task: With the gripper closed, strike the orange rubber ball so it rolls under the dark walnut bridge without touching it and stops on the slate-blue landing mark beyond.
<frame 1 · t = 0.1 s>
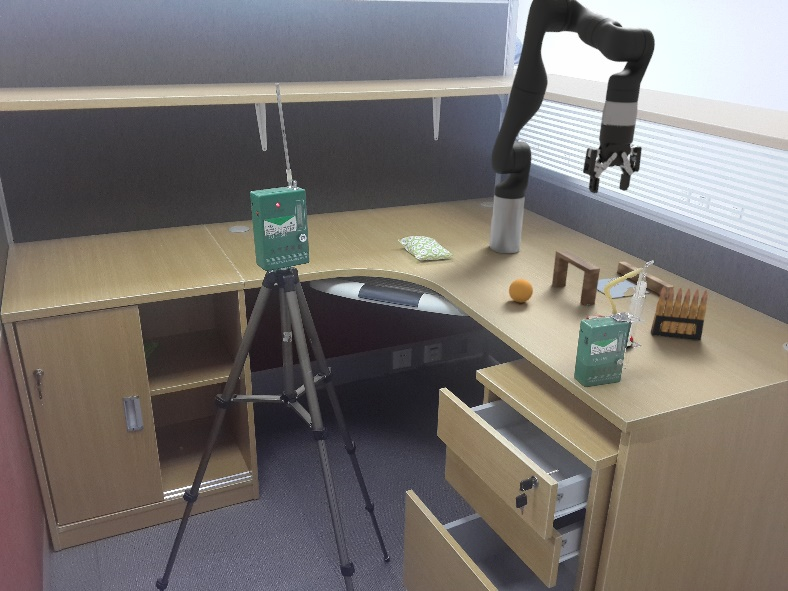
hand: (608, 191, 158), 29 cm above the table, tool pointing down, fingers open, 8 cm apart
bridge: (572, 294, 175), on the table
race car: (607, 338, 152), on the table
stopper wall: (643, 283, 182), on the table
ammunition clip: (675, 337, 152), on the table
ball: (520, 290, 168), on the table
landing mark: (616, 287, 179), on the table
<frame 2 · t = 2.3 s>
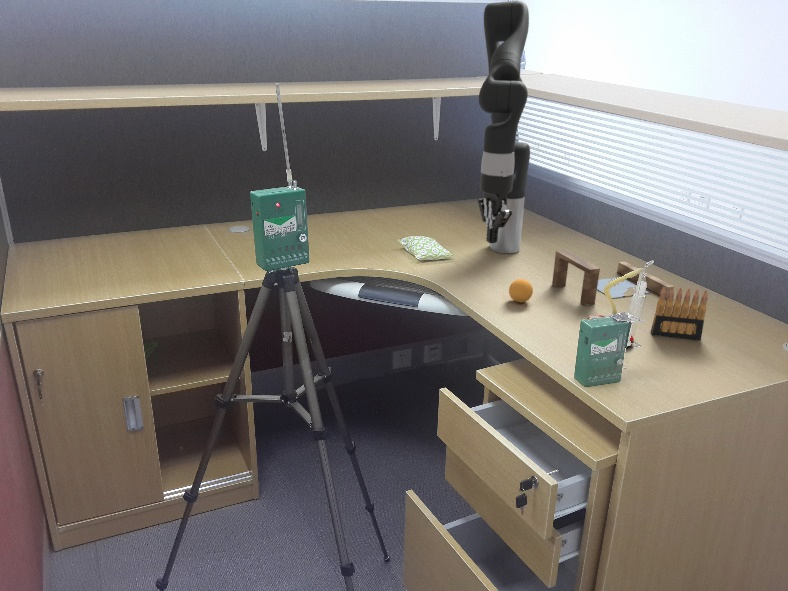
hand: (491, 242, 160), 17 cm above the table, tool pointing down, fingers closed
nothing on the table moved.
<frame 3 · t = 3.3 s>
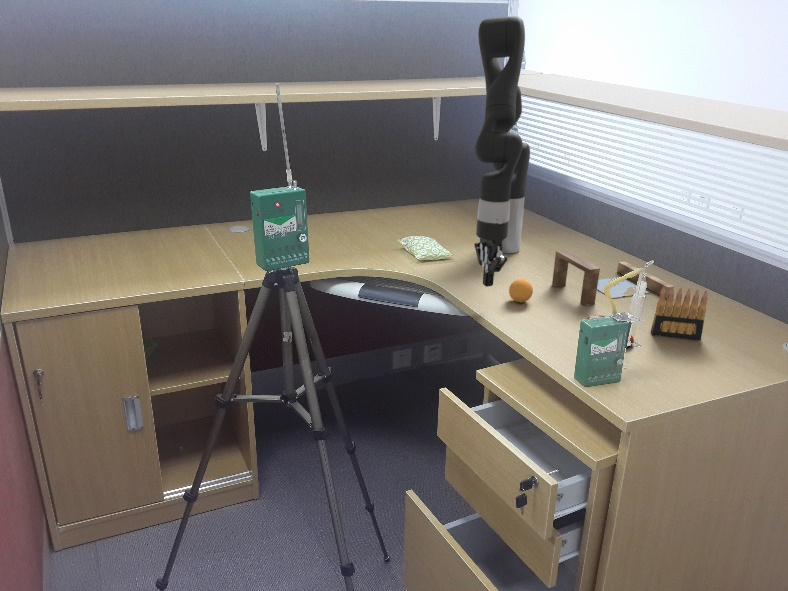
hand: (487, 285, 164), 6 cm above the table, tool pointing down, fingers closed
nothing on the table moved.
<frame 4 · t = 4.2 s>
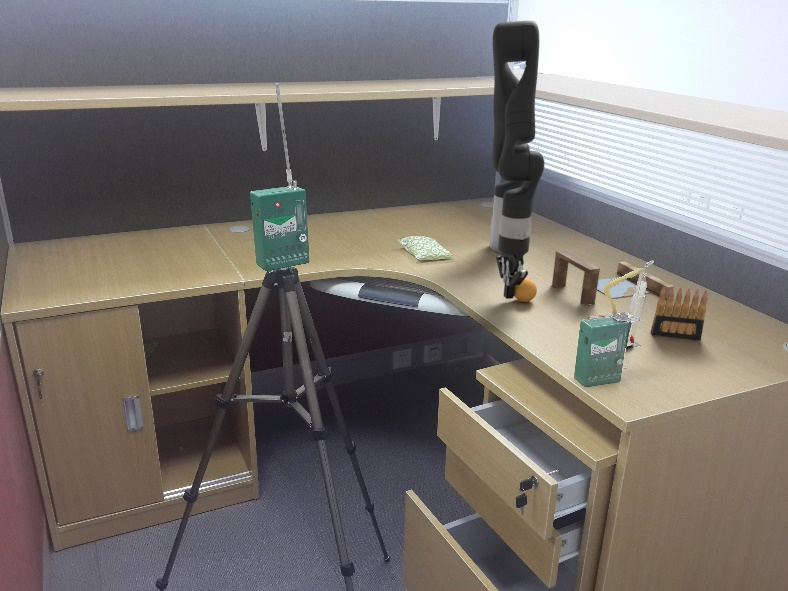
hand: (508, 297, 169), 1 cm above the table, tool pointing down, fingers closed
ball: (524, 290, 168), on the table, touching gripper
everything else where it was.
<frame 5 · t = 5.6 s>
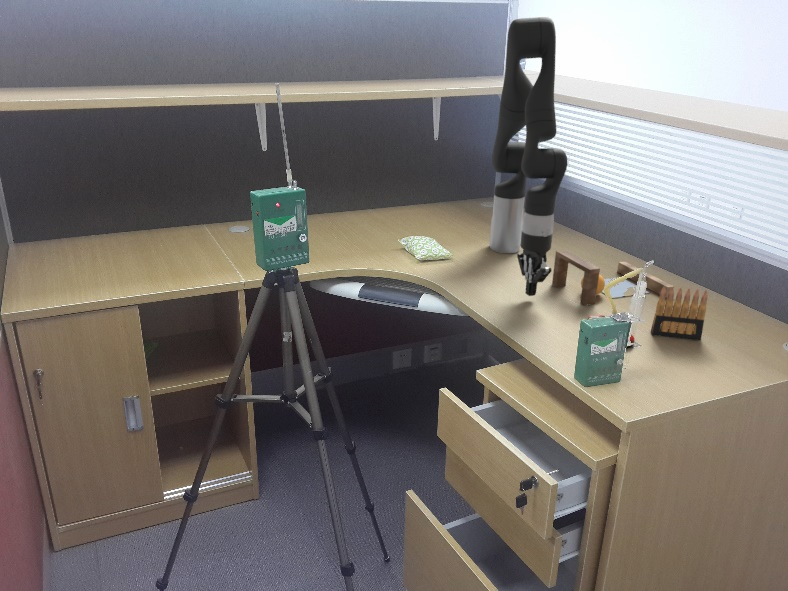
hand: (530, 294, 170), 2 cm above the table, tool pointing down, fingers closed
ball: (593, 284, 173), on the table
everything else where it was.
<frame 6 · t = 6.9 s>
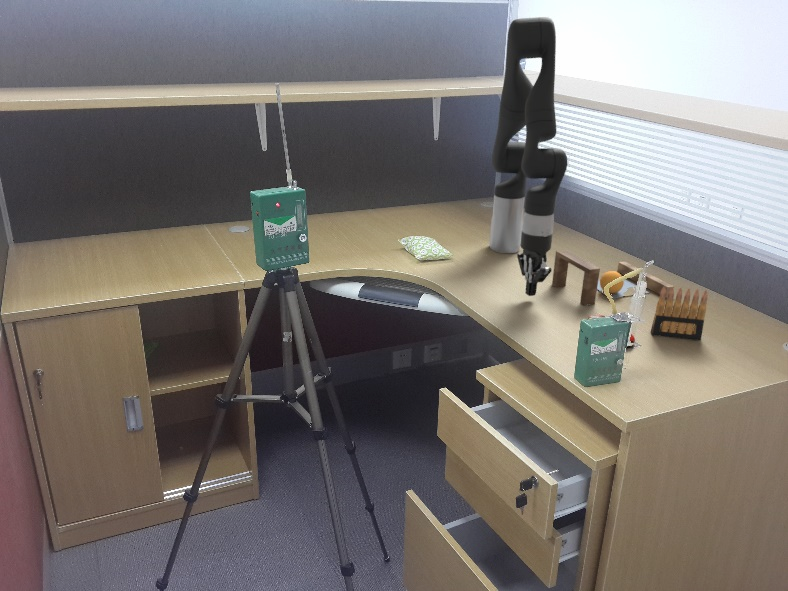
hand: (530, 294, 170), 2 cm above the table, tool pointing down, fingers closed
ball: (611, 282, 175), on the table
everything else where it was.
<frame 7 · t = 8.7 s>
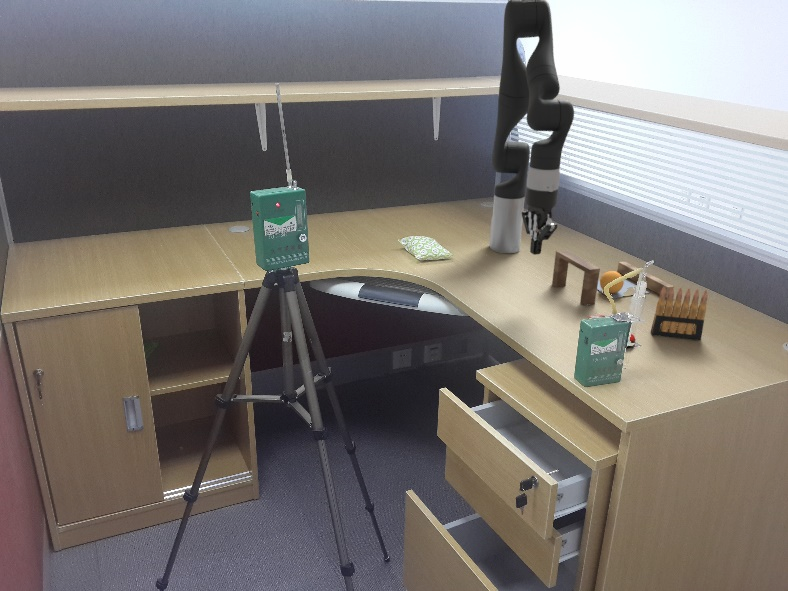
hand: (535, 253, 166), 13 cm above the table, tool pointing down, fingers closed
nothing on the table moved.
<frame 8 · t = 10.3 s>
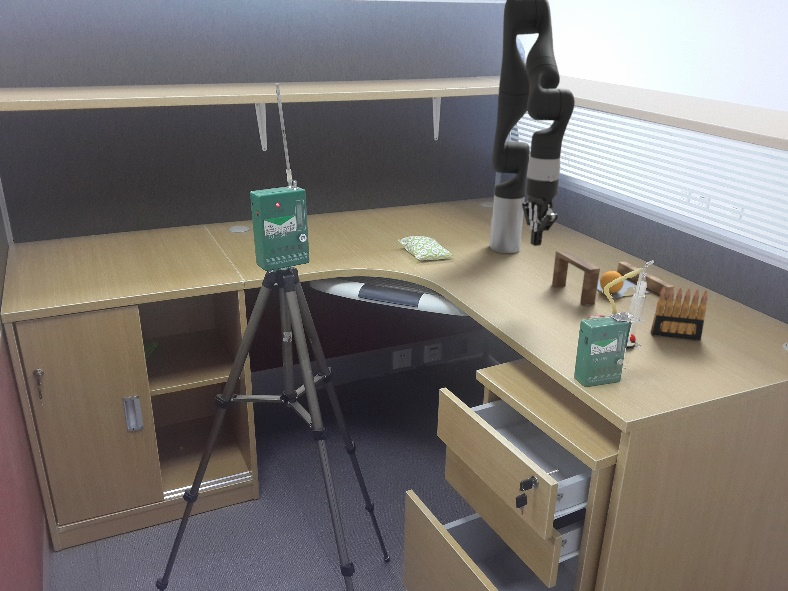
hand: (535, 244, 164), 15 cm above the table, tool pointing down, fingers closed
nothing on the table moved.
at the end: ball 4.6 cm from the landing mark (horizontally); ball never touched bridge; ball at rest at the end (0.0 cm/s) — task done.
